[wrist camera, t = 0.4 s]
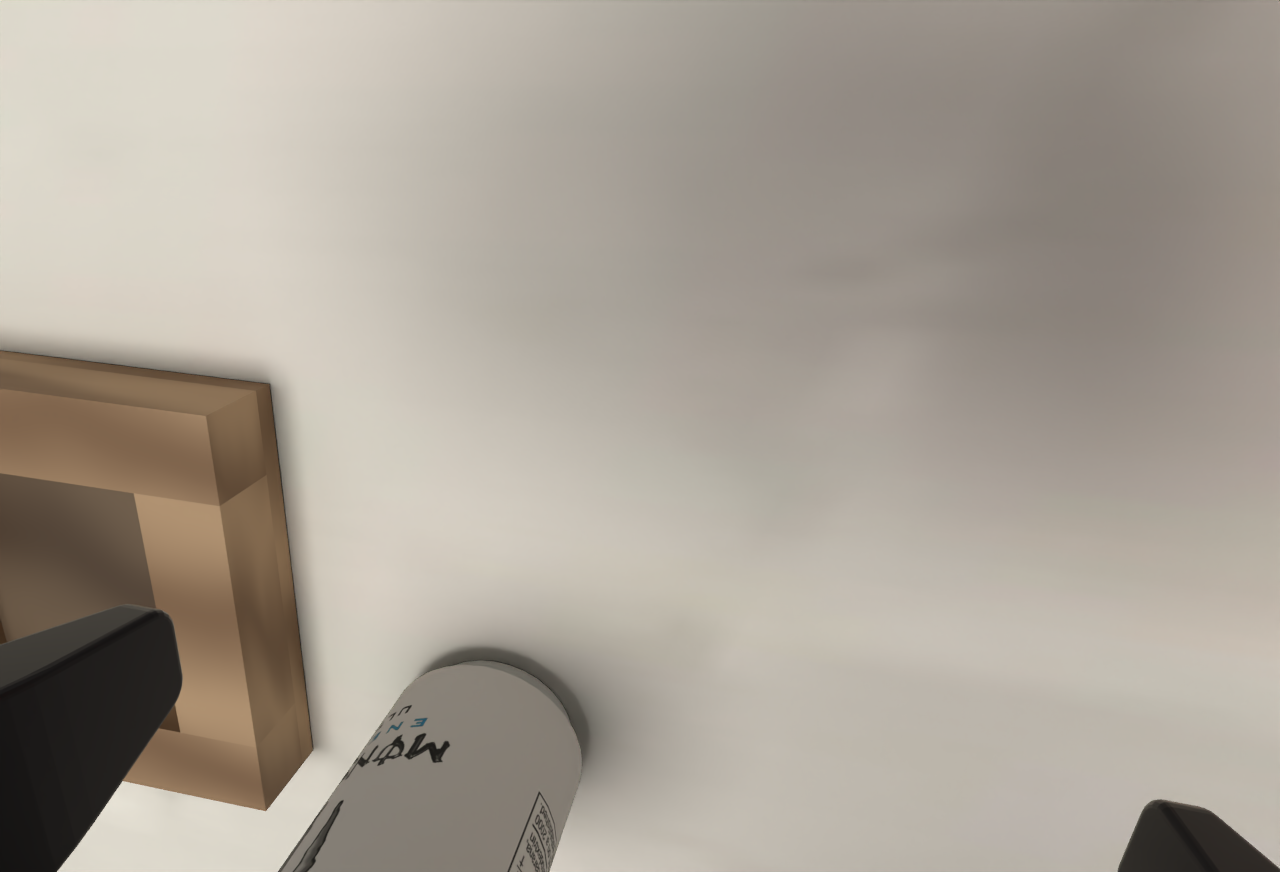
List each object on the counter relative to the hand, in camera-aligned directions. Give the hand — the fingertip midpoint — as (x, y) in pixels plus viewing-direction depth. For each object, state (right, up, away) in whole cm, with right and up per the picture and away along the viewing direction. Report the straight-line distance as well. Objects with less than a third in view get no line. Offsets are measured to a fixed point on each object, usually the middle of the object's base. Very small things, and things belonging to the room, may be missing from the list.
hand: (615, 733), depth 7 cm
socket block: (-17, -1, +18) cm, 25 cm away
